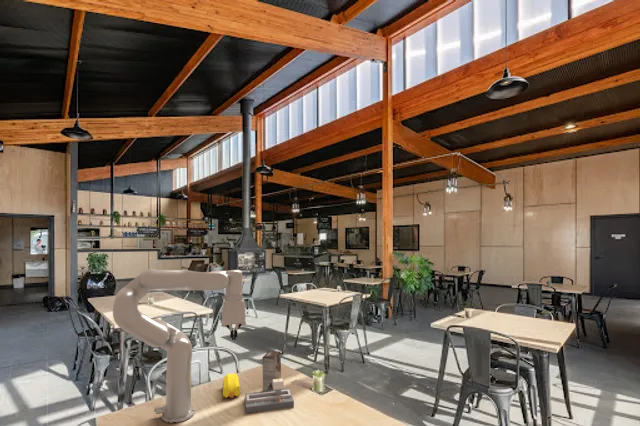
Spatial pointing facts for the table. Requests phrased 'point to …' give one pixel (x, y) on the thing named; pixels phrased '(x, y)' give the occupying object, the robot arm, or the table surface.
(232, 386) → the yellow rounded capsule
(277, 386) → the fader tab
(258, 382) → the table surface
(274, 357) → the coffee box
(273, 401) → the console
